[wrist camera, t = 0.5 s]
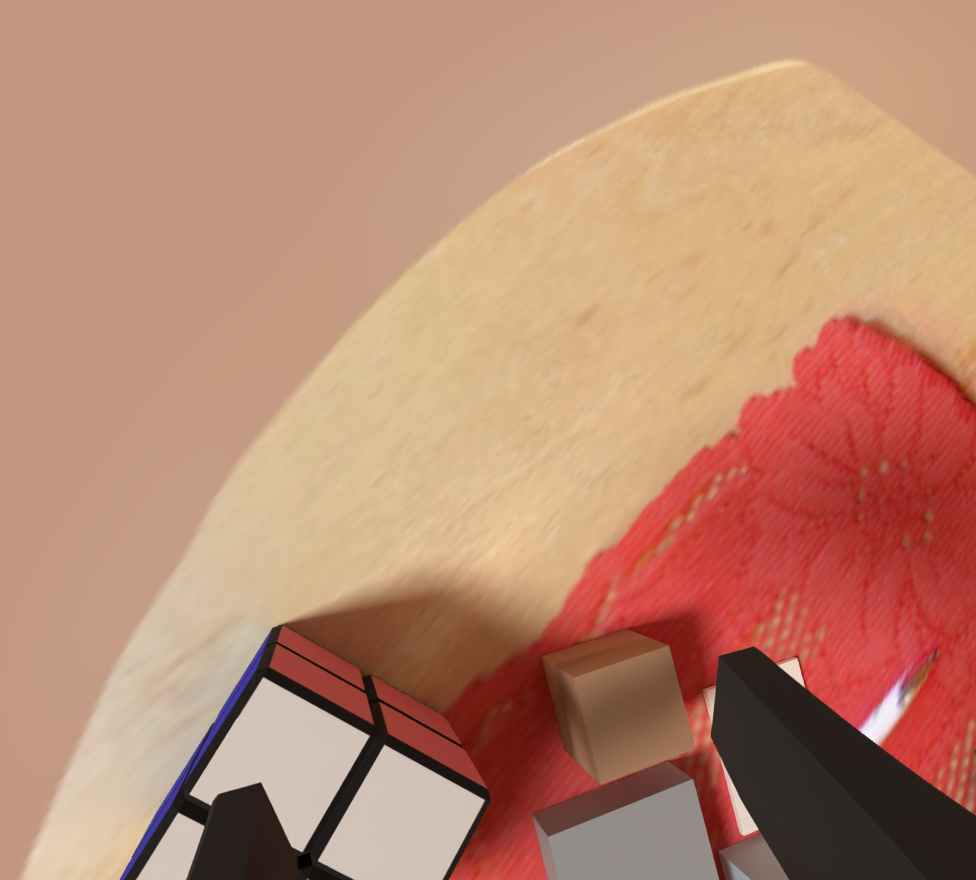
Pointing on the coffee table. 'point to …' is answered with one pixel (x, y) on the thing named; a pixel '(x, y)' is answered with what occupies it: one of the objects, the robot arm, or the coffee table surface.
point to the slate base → (629, 831)
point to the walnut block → (618, 704)
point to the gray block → (751, 861)
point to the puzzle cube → (326, 773)
